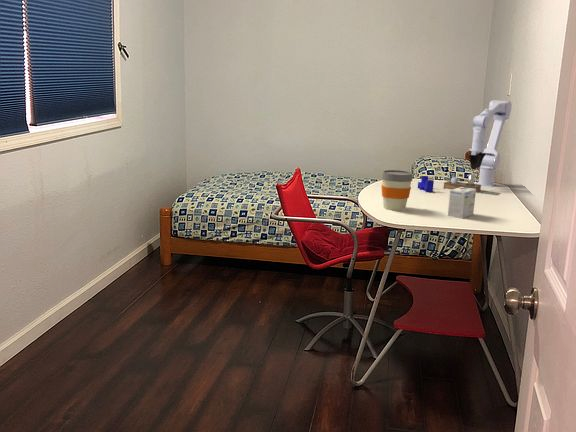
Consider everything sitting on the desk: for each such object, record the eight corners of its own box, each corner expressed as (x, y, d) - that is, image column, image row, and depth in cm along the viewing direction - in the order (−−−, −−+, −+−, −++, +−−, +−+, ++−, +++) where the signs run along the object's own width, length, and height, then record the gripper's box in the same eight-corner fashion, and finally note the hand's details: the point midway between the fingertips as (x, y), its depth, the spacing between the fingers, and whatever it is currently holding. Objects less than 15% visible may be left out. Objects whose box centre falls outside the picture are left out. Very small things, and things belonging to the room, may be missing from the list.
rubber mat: (484, 191, 317) (484, 190, 317) (501, 193, 314) (501, 192, 313) (480, 193, 311) (480, 193, 311) (497, 196, 307) (497, 195, 307)
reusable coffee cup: (386, 211, 262) (389, 175, 259) (374, 205, 274) (377, 170, 271) (414, 211, 266) (418, 175, 262) (401, 204, 277) (404, 169, 274)
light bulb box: (458, 212, 268) (461, 186, 266) (474, 214, 264) (476, 188, 262) (446, 215, 260) (449, 189, 258) (462, 218, 256) (465, 191, 254)
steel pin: (467, 190, 319) (469, 173, 317) (474, 190, 317) (475, 174, 316) (466, 190, 316) (468, 174, 315) (472, 191, 315) (474, 175, 313)
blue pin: (451, 187, 323) (452, 177, 322) (457, 188, 321) (458, 177, 320) (449, 188, 320) (451, 177, 319) (455, 189, 319) (457, 178, 318)
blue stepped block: (417, 188, 320) (418, 175, 318) (426, 188, 320) (427, 176, 318) (423, 192, 308) (424, 180, 307) (432, 193, 308) (433, 180, 307)
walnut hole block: (448, 186, 326) (448, 180, 326) (480, 190, 318) (481, 184, 318) (443, 188, 319) (444, 182, 319) (476, 193, 312) (476, 187, 311)
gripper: (474, 138, 325) (471, 165, 328) (466, 141, 312) (463, 169, 316) (488, 140, 321) (485, 167, 324) (481, 142, 309) (477, 170, 312)
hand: (475, 168), depth 320 cm, fingers open, 7 cm apart
